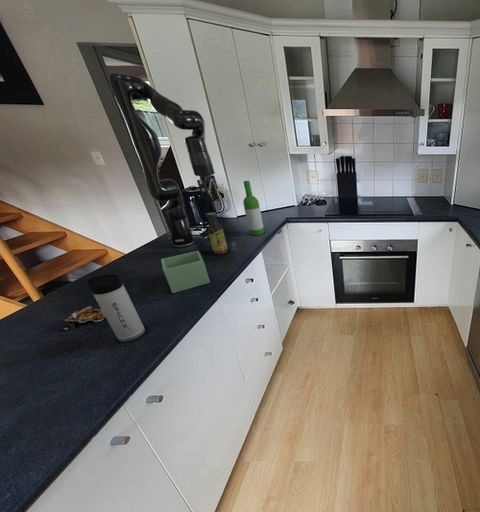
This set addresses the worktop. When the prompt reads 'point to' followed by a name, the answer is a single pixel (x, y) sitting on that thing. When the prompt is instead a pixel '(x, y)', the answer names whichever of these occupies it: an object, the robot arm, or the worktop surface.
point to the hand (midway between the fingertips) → (213, 201)
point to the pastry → (84, 316)
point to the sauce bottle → (216, 234)
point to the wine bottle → (252, 211)
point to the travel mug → (116, 306)
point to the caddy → (185, 271)
